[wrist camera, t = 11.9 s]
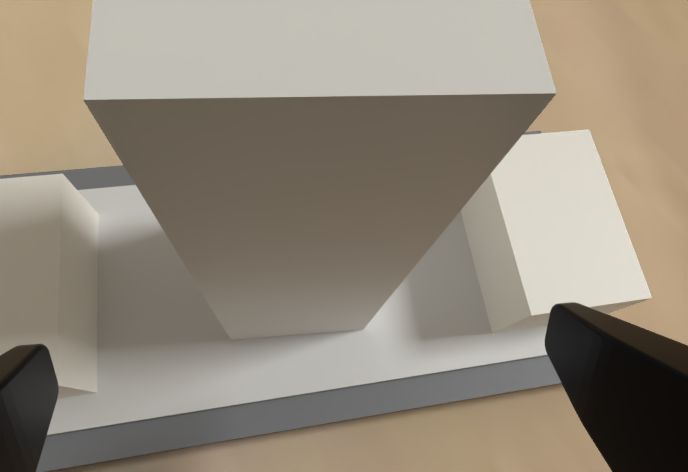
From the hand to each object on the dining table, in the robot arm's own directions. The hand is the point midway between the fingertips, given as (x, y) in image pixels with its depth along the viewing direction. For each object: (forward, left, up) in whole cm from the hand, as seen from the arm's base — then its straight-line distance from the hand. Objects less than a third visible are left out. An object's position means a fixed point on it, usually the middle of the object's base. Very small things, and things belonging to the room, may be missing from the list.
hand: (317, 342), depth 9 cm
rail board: (+4, 0, -9) cm, 10 cm away
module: (+4, 0, -8) cm, 9 cm away
